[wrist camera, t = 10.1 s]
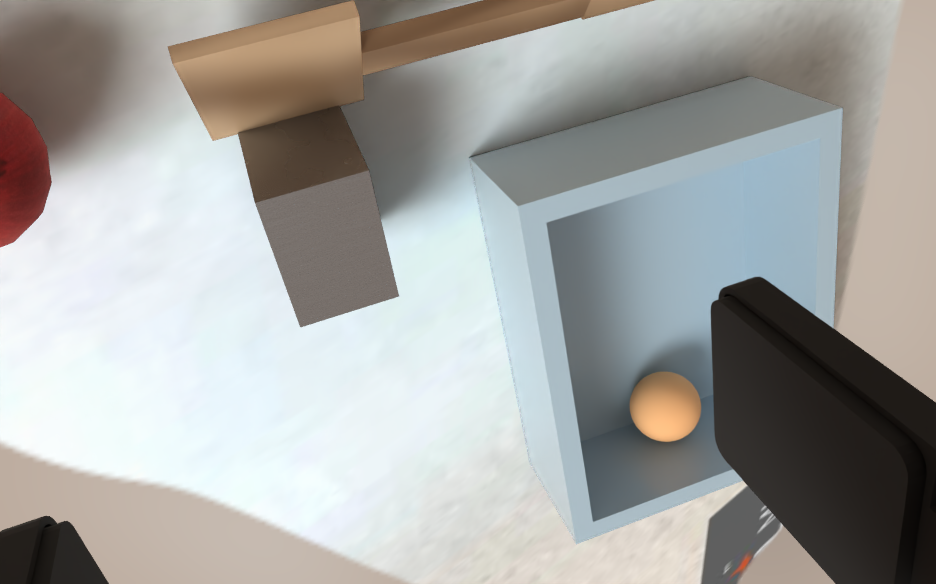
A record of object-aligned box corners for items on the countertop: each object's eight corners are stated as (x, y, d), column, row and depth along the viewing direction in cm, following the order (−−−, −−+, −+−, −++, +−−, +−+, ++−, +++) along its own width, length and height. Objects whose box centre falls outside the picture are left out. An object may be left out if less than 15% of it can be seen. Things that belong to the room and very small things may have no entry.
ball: (657, 447, 39) (637, 454, 43) (723, 423, 40) (698, 432, 43) (629, 378, 40) (611, 391, 44) (693, 355, 41) (671, 370, 44)
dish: (469, 157, 36) (517, 206, 30) (750, 75, 38) (842, 107, 32) (530, 464, 44) (576, 544, 39) (755, 382, 47) (828, 447, 41)
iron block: (255, 202, 27) (300, 327, 31) (369, 170, 28) (399, 296, 32) (237, 132, 31) (280, 252, 35) (339, 105, 31) (369, 225, 36)
